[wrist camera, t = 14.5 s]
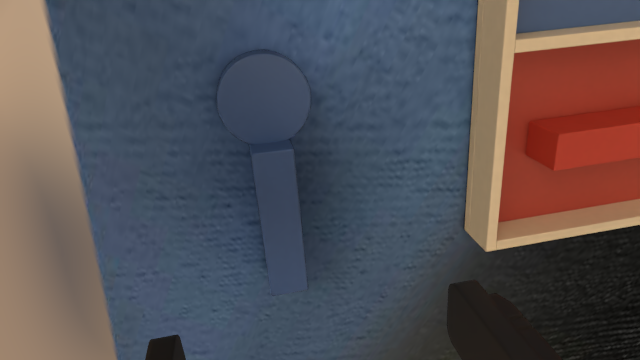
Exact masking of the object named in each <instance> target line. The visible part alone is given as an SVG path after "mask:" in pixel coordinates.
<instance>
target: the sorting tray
mask: <svg viewBox="0 0 640 360" xmlns="http://www.w3.org/2000/svg"><path fill="white" fill-rule="evenodd" d="M636 106H640V0H478V15H477V31H476V47H475V64H474V80H473V97H472V113H471V129H470V146H469V162H468V179H467V195H466V211H465V228H464V229H465V231H466V232H467V233H468V234H469V235H470V236H471V237H472V238H473V239H474V240H475V241H476V242H477V243H478V244H479V245H480V246H481V247H482V248H483V249H484V250H485V251H486V252H488V251H494V250H499V249H505V248H511V247H516V246H522V245H528V244H533V243H539V242H545V241H550V240H556V239H561V238H567V237H573V236H578V235H584V234H590V233H595V232H601V231H607V230H612V229H618V228H624V227H629V226H635V225H640V158H636V159H629V160H623V161H616V162H610V163H603V164H597V165H590V166H584V167H578V168H571V169H565V170H558V171H553V170H551V169H549V168H548V167H546V166H544V165H542V164H541V163H539V162H537V161H535V160H534V159H532V158H530V157H528V156H527V155H526V146H527V137H528V129H529V122H530V121H533V120H541V119H548V118H555V117H563V116H570V115H577V114H584V113H592V112H599V111H606V110H614V109H621V108H628V107H636Z"/></svg>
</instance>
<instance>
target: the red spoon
mask: <svg viewBox="0 0 640 360" xmlns="http://www.w3.org/2000/svg"><path fill="white" fill-rule="evenodd" d="M526 155H527V156H528V157H530V158H532V159H534V160H535V161H537V162H539V163H541V164H542V165H544V166H546V167H548V168H549V169H551V170H553V171H558V170H565V169H571V168H578V167H584V166H590V165H597V164H603V163H610V162H616V161H623V160H629V159H636V158H640V106H636V107H628V108H621V109H614V110H606V111H599V112H592V113H584V114H577V115H570V116H563V117H555V118H548V119H541V120H533V121H530V122H529V129H528V137H527V146H526Z"/></svg>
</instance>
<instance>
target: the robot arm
mask: <svg viewBox="0 0 640 360" xmlns="http://www.w3.org/2000/svg"><path fill="white" fill-rule="evenodd" d="M447 329H448V333H449V337H450V340H451V342H452V344H453V346H454V347H455V349H456V351H457V352H458V354H459V355H460V357H461V359H462V360H563V359H562V358H561V357H560V356H559V355H558V354H557V353H556V352H555V350H554V349H553V348H552V347H551V346H550V345H549V344H548V343H547V342H546V340H545V339H544V338H543V337H542V336H541V335H540V334H539V333H538V331H537V330H536V329H535V328H532V325H531V324H530V323H529V321H528V320H527V319H526V318H525V317H523V315H522V314H521V312H520V311H519V310H518V309H517V308H516V307H515V306H514V305H513V304H512V303H511V302H510V301H508V300H506V299H505V298H503V297H501V296H500V295H498V294H496V293H494V294H488V293H487V292H486V291H485V290H484V289H483V287H482V286H481V285H480V284H479V283H478V282H477V281H476V280H469V281H463V282H458V283H453V284H450V285H449V288H448V310H447ZM145 360H186V358H185V355H184V351H183V347H182V343H181V340H180V337H179V335H172V336H167V337H162V338H156V339H151V340H150V342H149V345H148V349H147V354H146V359H145Z"/></svg>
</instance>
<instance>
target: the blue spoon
mask: <svg viewBox="0 0 640 360" xmlns="http://www.w3.org/2000/svg"><path fill="white" fill-rule="evenodd" d="M216 102H217V109H218V113H219V116H220V118H221V120H222V122H223V124H224V125H225V127H226V128H227V129H228V130H229V131H230V133H231V134H233V135H234V136H235V137H236V138H238V139H240V140H241V141H243V142H246V143H248V144H249V147H250V154H251V161H252V168H253V175H254V182H255V189H256V196H257V202H258V209H259V216H260V223H261V230H262V237H263V244H264V251H265V258H266V265H267V271H268V278H269V285H270V292H271V295H272V296H276V295H282V294H287V293H293V292H299V291H304V290H308V279H307V270H306V260H305V250H304V241H303V231H302V221H301V212H300V202H299V192H298V183H297V173H296V163H295V154H294V148H293V146H292V143H291V141H290V138H291V137H293V136H294V135H295V134H296V133H297V132H298V131H299V130H300V129H301V128H302V127H303V125H304V124H305V122H306V120H307V118H308V115H309V112H310V108H311V91H310V87H309V84H308V81H307V79H306V77H305V76H304V74H303V72H302V71H301V70H300V69H299V68H298V66H297V65H296V64H295V63H294V62H293V61H292V60H290V59H289V58H287V57H286V56H284V55H282V54H280V53H277V52H274V51H270V50H254V51H250V52H247V53H244V54H242V55H240V56H238V57H237V58H235V59H234V60H233V61H232V62H230V63H229V64H228V66H227V67H226V68H225V70H224V71H223V73H222V75H221V77H220V79H219V82H218V87H217V97H216Z"/></svg>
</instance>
